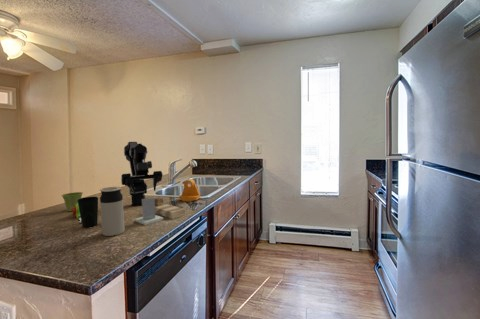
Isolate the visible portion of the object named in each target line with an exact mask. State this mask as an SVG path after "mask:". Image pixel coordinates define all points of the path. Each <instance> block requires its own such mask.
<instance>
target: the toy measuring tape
mask: <svg viewBox="0 0 480 319" xmlns="http://www.w3.org/2000/svg"><path fill="white" fill-rule="evenodd" d="M71 212H72V215H73V216H75V218H76V220H78V221H79V220H80V221H79V223H80V224H82V221H81V216H80V211H79V206H78V203H77V204H75V207H73V208H72V211H71Z"/></svg>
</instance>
